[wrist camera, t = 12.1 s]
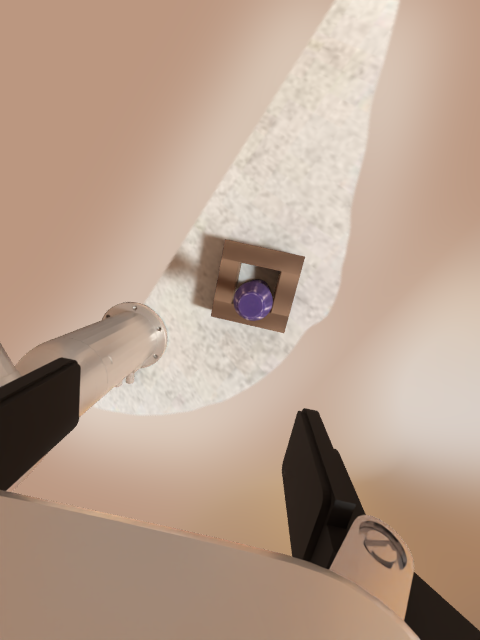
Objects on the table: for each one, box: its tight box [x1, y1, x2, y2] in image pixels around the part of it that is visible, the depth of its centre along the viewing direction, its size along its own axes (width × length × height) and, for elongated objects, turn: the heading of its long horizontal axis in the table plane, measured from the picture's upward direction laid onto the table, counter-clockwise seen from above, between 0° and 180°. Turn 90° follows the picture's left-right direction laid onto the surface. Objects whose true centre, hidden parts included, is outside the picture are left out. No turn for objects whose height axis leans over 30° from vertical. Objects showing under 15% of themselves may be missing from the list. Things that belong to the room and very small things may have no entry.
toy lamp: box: [233, 279, 273, 321], centre depth 33 cm, size 5×5×17 cm
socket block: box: [211, 239, 305, 333], centre depth 39 cm, size 12×12×4 cm
